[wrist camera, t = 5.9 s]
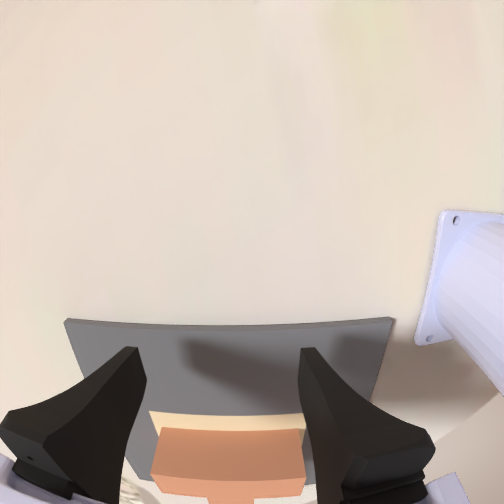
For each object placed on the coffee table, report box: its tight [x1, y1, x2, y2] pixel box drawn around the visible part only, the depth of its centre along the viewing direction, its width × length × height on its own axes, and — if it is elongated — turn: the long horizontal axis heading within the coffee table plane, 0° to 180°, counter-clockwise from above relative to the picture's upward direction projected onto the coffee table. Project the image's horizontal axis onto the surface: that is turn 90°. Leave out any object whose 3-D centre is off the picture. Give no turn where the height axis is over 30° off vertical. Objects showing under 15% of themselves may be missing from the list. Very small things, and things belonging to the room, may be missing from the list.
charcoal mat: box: [64, 317, 392, 485], centre depth 17 cm, size 18×18×1 cm
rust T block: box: [150, 427, 306, 504], centre depth 16 cm, size 9×9×4 cm
